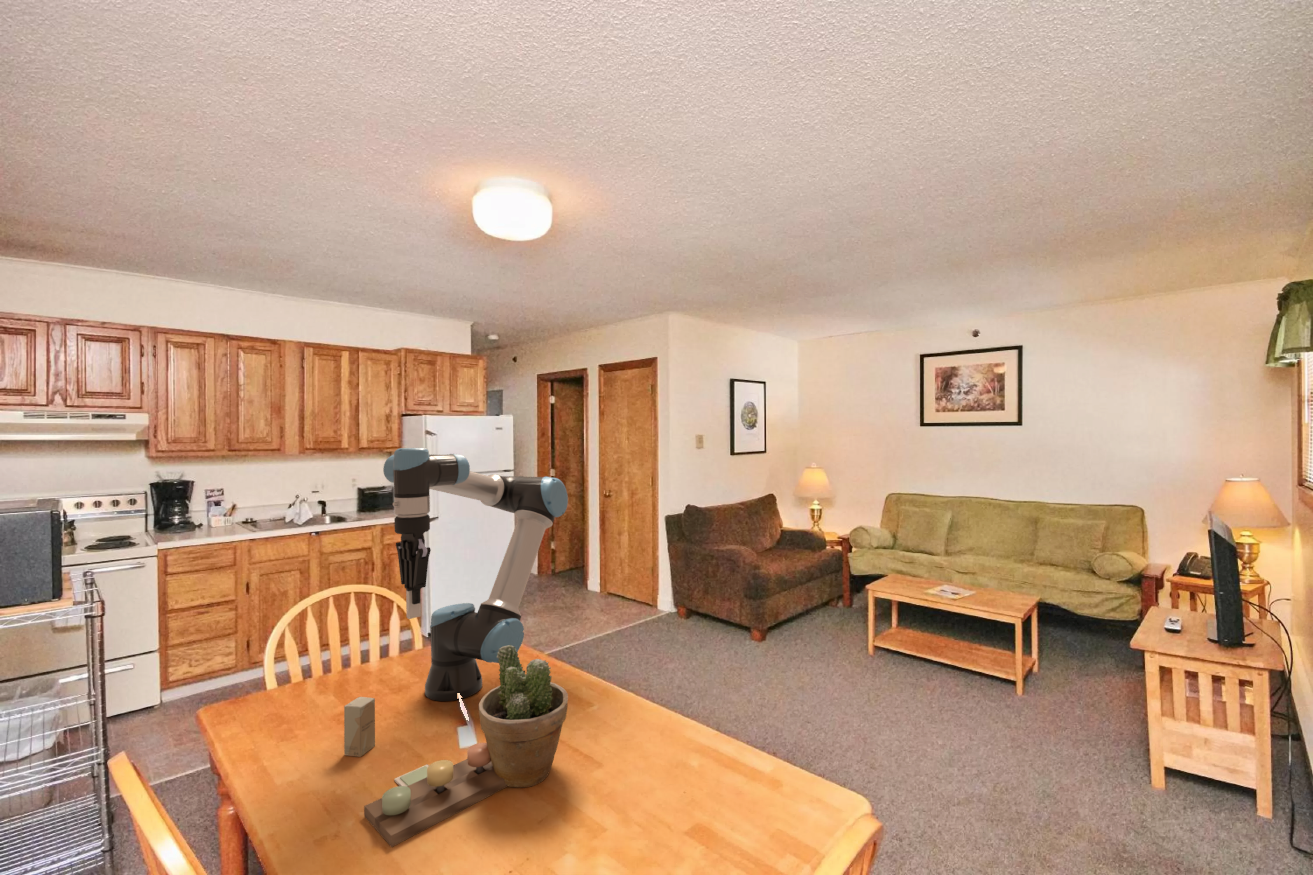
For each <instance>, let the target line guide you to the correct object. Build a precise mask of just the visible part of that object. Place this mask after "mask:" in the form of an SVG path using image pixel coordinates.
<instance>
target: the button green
mask: <svg viewBox="0 0 1313 875" xmlns="http://www.w3.org/2000/svg"><path fill="white" fill-rule="evenodd" d="M381 798H382V812H383V813H384V814H385V815H393V816H394V815H397V814H400V813H402V812H404V811H406V810H407V809H408V808H409V807H410V805H411V790H410V788H409V787H406V786H399V785H398V786H394V787H392V788H388V790H386V791H385V792H384V793H383V794H382V796H381Z"/></svg>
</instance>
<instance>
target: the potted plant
mask: <svg viewBox="0 0 1313 875" xmlns="http://www.w3.org/2000/svg"><path fill="white" fill-rule="evenodd" d="M498 651H499V652H498V655H497V658H498V659H499V660H498V662H499V663H498V665H499V669H498V671H499V674H498V676H499V678H498V679H499V682H500V684H499V685H497V686H496V687H495V688H492V689H490V690H489V691H488V692H486V693H485V694H484V695H483V696H482V698H481V699H480V701H479V703H478V715H479V716H478V717H479V721H480V722H479V724H480V725H479V726H480V729H481V731H482V732H483V733H484V737H485V743H487V747H488V750H489V754H490V758H491V762H492V765H493V768H494V771H495V773H496V774H497V775H498V776H499V777H501V778H504V781H505V784H506V785H507V787H510V788H530V787H533V786H536V785H537V784H539V783H542V782H543V781H544V780H546V778H547V777H548V776H549V773H550V771H551V770H552V766H553V762H554V759H555V755H556V753H557V749H558V745H559V741H560V736H561V733H562V729H563V724H564V722H565V721H566V718H567V711H568V701H569V693H568V691H567V690H566V689H565V688H564V687H562V686H561V685H559V684H557V683H555V682H552V675H550V674H551V673H552V671H550V670H551V666H549V662H547V661H546V660H545V659H544V660H543V659H541V658H540V659H539V658H536V659H532V660H530V661H529V663H528V664H527V665H526V668H525V669H526V670H524V669H523V668H524V667H523V666H522V663H521V660H520V657H518V656H519V653H518V652H516V648H515V647H514V646H512V645H508V646H503V647H501V648H500V649H499V650H498Z"/></svg>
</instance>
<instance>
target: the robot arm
mask: <svg viewBox="0 0 1313 875" xmlns="http://www.w3.org/2000/svg"><path fill="white" fill-rule="evenodd" d="M382 468H383V475H384V477H385V479H386V481H388V482H390V483H393V496H394V498H393V501H394V502H392V506H393V507H394V514H395V515H396V516H395V517H394V522H393V523H394V524H393V525H394V532H395V533H396V534H398V535H400V541H398V542H396V543H395V548H396V552H397V557H398V558H397V559H398V567H399V574H400V583H401V585H404V589H405V594H406V595H405V598H406V601H405V602H406V604H405V605H406V606H405V608H406V618H407V619H408V620H410V619H415V618H420V617H422V597H421V596H422V595H421V594H422V593H421V592H422V591H421V589H423V588H426V586H427V576H428V569H429V566H428V565H429V557H430V554H431V550H432V549H431V547H430V546H428V547H426V545H425V544H426V542H425V540H426V539H425V536H424V534H425V533H426V532H429V531H430V530H431V519H430V518H431V517H430V515H429V513H430V512H431V504H430V503H431V501H430V499H431V497H430V495H431V494H430V490H433V491H437V492H441V493H446V494H450V495H454V496H459V497H462V498H468V499H472V500H476V501H480V502H481V504H483V505H484V506H487V507H491V508H494V509H499V510H502V511H504V512H509V513H513V514H514V516H515V517H516V519H517V521H516V524H515V527H514V529H513V532H512V535H511V537H510V540H509V543H508V545H507V548H506V551H505V554H504V556H503V559H502V562H501V565H500V568H499V570H498V571H497V572H498V573H497V575H496V578H495V581H494V582H493V586H492V588H491V591H490V594H489V597H488V599H487V600H485V601H483V602H481V603H480V605H479V607H478V610H477V612H476V607H475V604H474V603H471V602H466V603H465V602H463V603H462V602H461V603H456V604H455V603H454V604H449V605H446V606H443V607H440V608H438V609H436V610H435V611H433V612H432V614H431V616H430V626H429V628H430V630H429V631H430V656H431V660H430V661H431V664H430V668H429V670H428V671H429V672H428V675H427V677H426V681H425V685H424V695H425V697H427V699H429V700H432V701H437V702H449V701H450V702H452V701H458V700H457V693H460V695H461V696H462V697H463V698H462V699H465V698H469V697H470V696H473V695H475V694H476V693H478V692H479V691H481V690H482V688H483V676H482V673H481V671H480V670H481V669H480V668H479V664H478V662H477V660H479V661H484V662H486V663H490V664H491V663H495V664H499V662H498V660H499V659H498V658H497V655H498V652H499V651H498V650H499V649H500V648H501V647H503V646H508V645H512V646H514V647H515V648H516V652H518V651H519V650H520V648H521V647H522V644H523V641H524V637H525V632H524V631H525V627H524V624H523V622H522V621H521V619H522V614H521V612H520V609H519V608H520V605H521V601H522V600H523V595H524V594H525V590H526V587H527V584H528V581H529V579H530V575H531V572H532V570H533V568H534V567H533V566H534V563H535V561H536V558H537V554H538V553H539V549H540V546H541V544H542V541H543V539H544V538H543V537H544V535H545V532H546V530H547V529H549V528H552V526H553V524H554V521H555V518H559V517H561V516H563V515H564V514H565V512H566V511H567V508H568V505H569V504H568V503H569V501H568V500H569V496H568V495H569V494H568V490H567V488H566V486H565V484H564V482H563V481H562V480H561V479H559V478H557V477H550V476H523V475H522V476H521V475H516V476H511V475H510V476H507V475H506V476H504V475H498V474H490V475H487V474H482V473H479V472H475V471H471V468H470V462H469V460H468V459H467V458H466V457H465V456H464V455H463V454H460V453H459V454H457V453H456V454H455V453H449V454H430V453H429V449H428V448H426V447H405V448H404V447H403V448H402V447H400V448H397V449H396V450H394V453H393V454H391V456H389V457H387V458H386V460H385V462H384V464H383V467H382Z"/></svg>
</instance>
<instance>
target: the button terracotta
mask: <svg viewBox="0 0 1313 875" xmlns="http://www.w3.org/2000/svg"><path fill="white" fill-rule="evenodd" d="M466 750H467V752H466V753H467V754H466V756H467V758H466V759H467V763H468V765H469V766H471V767H476V772H477V773H482V772H483V766H485V765H487V764H488V763H490V762H491V758H490V754H489V750H488V747H487V742H478V743H474V744H472V745H470V746H469V747H468V749H466Z"/></svg>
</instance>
